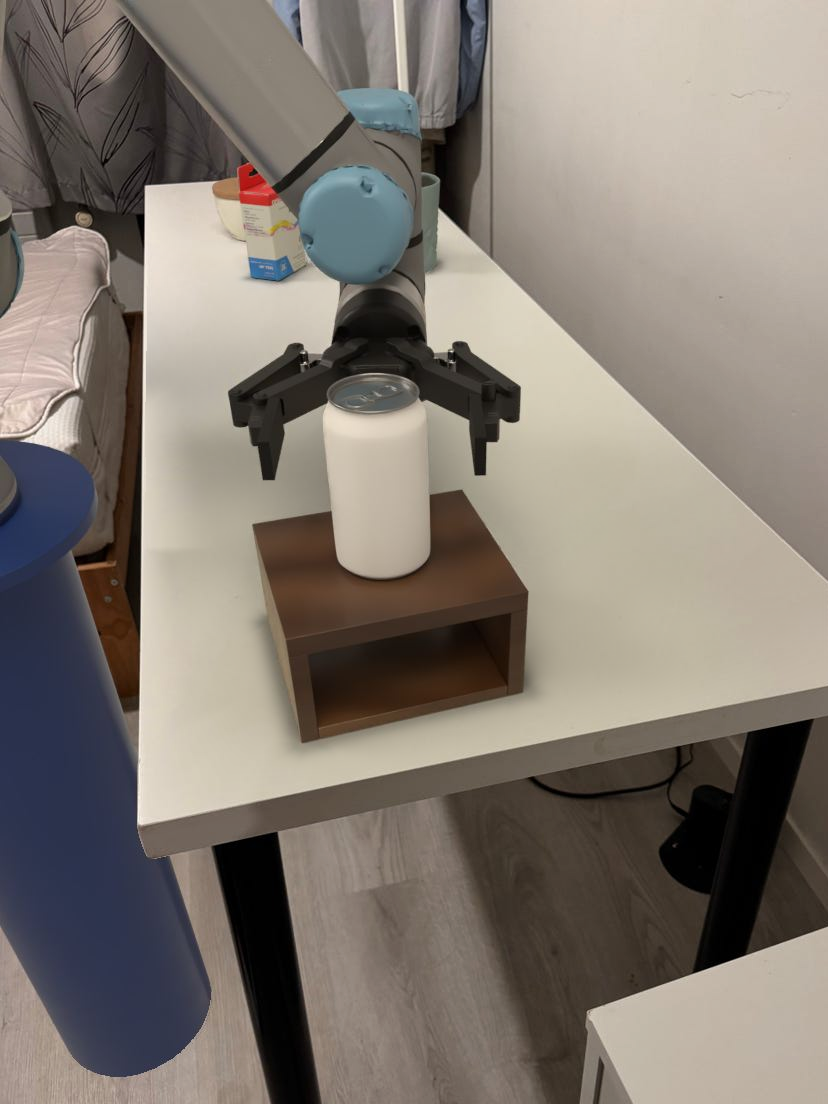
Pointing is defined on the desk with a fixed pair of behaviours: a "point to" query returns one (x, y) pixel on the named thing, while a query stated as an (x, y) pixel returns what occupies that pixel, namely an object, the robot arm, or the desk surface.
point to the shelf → (392, 623)
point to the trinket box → (229, 206)
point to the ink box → (268, 229)
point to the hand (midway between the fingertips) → (373, 459)
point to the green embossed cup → (430, 218)
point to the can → (378, 474)
